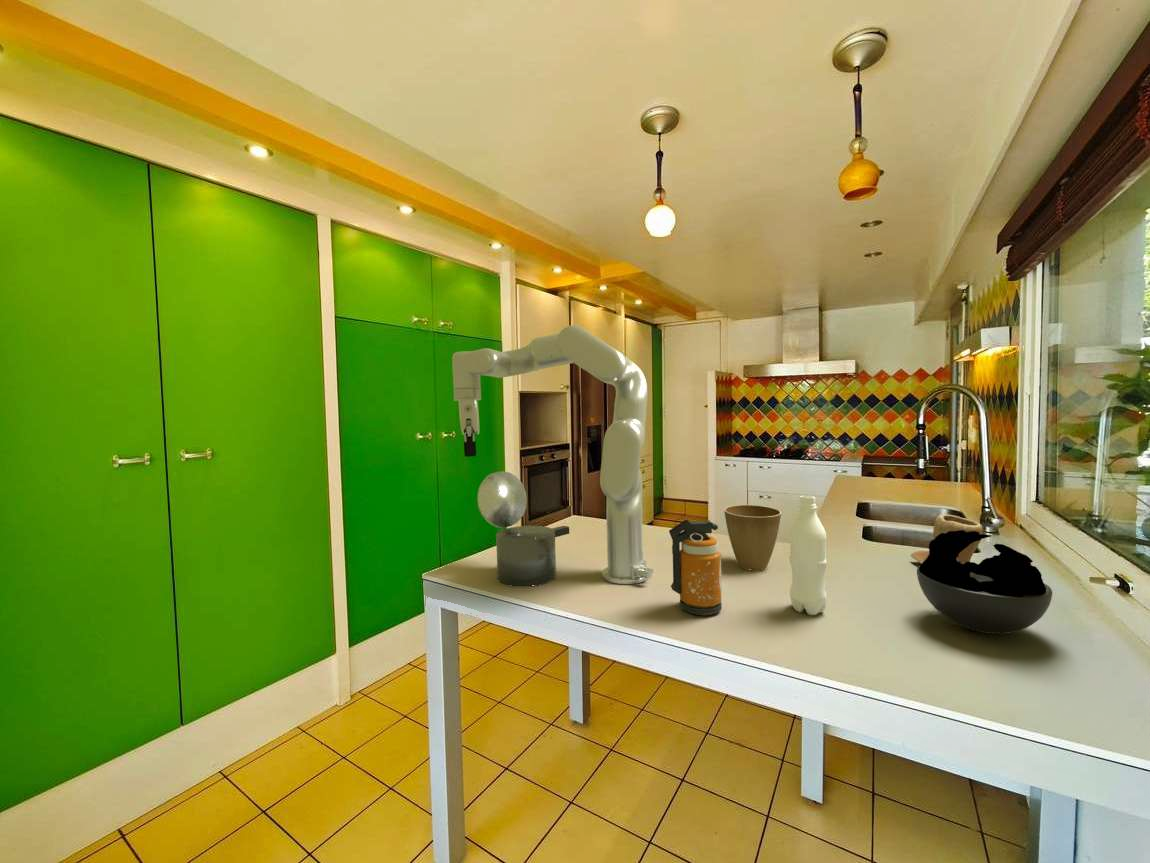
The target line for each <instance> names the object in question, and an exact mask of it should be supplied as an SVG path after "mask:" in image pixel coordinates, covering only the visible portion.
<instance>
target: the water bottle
mask: <svg viewBox="0 0 1150 863" xmlns="http://www.w3.org/2000/svg"><path fill="white" fill-rule="evenodd" d="M798 508H799V511H798V514H797V515H796V518H795V519H794V521H793V523H792V524H791V527H790V529H789V538H790V539H789V540H790V541H789V542H790V543H789V544H790V545H789V551H790V553H789V554H790V555H789V563H790V567H791V575H792V576H791V577H792V578H791V585H790V589H789V598H790V603H791V604H792V607H793V608H794V610H795V611H797V612H798V613H802V612H803V611H804V609H805V612H806V613H807V615H810V616H816V615H818V614H819V613H820V614H821V613H823V612H824V611H825V609H826V607H827V600H828V597H827V592H826V587H825V573H826V568H827V564H828V562H827V556H826V554H827V553H826V551H827V549H826V548H827V547H826V546H827V544H826V542H827V533H826V530H825V528H824V526H823V524H822V522H821V520H820V518H819V517H818V515H817V510H816V509H817V504H816V497H815V496H813V495H800V496H799V504H798Z"/></svg>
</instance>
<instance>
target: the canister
mask: <svg viewBox="0 0 1150 863" xmlns="http://www.w3.org/2000/svg"><path fill="white" fill-rule="evenodd" d="M718 529H719V526H718V525H717V524H716V523H713V522H712V521H710V520H706V519H705V520H702V521H701V520H699V521H698V520H697V521H695V520H694V521H691V520H690V521H689V520H688V519H685V520H682V521H681V522H680V523H679V524H677V525H675V526H673V527H672V528H671V529H669V530H668V533H669V535H670V537H671V540H672V545H671V554H672V580H673V581H672V583H671V585H670V587H671V590H672V591H674V592H675V593H677V594H679V607H680V608H681V609H683V610H685V611H686V612H688V613H691V614H694V615H698V614H699V615H700V616H707V615H712V614H713V615H714V614H717V613H719V612H720V611H721V610H722V606H723V605H722V553H721V552H720V551H719V542H718V541H717V538H715V537H714V536H712V535H708V534H712V533H713V531H717V530H718ZM680 543H681V544H680ZM680 545H681V547H680ZM680 548H681V549H680Z"/></svg>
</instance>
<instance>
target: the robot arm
mask: <svg viewBox="0 0 1150 863" xmlns="http://www.w3.org/2000/svg"><path fill="white" fill-rule="evenodd" d="M451 362H452V363H451V364H452V378H453V379H452V380H453V401H454V402H458V412H459V413H458V414H459V423H460V430H461V434H462V435H463V436H464V442H463V451H464V453H463V454H464V457H465V458H466V457H467V458H468V457H469V458H470V457H477V444H476V438H475V433H476V435H479V434H480V416H479V414H480V413H479V402H478V401H481V400H482V394H481V393H482V389H481V388H482V387H481V376H487V377H493V378H508V377H512V376H518V375H523V374H527V373H531V372H535V371H539V370H542V369H543V370H544V369H549V368H553V367H558V366H564V365H570V364H575V365H576V366H578V367H580V368H581V369H582V370H584V371H586V372H588V374H590V375H592V376H593V377H594V378H596V379H597V380H599V381H601V382H603V383H605V384H608V385H612V386H613V387H614V389H615V399H614V409H613V419H612V424H611V425H609V427H608V428H607V429H606V431H605V433H604V434H605V435H604V438H603V444H602V445H603V446H602V453H601V454H602V455H601V464H600V476H599V484H600V488H601V492H602V493H603V494H604V495H605V496H606V503H605V504H606V548H607V549H606V553H607V555H606V556H607V566H606V567H605V568H604V569H603V570H602V571H601V577H602V578H603V579H604V580H605V581H607V582H609V583H613V584H617V585H634V584H639V583H643V582H645V581H647V580H651V579H652V576H653V574H654V571H655V570H654V568H651V567H647V561H646V560H644V551H643V550H644V548H643V546H644V544H643V543H644V541H643V476H642V470H641V469H640V468H641V458H642V450H643V446H644V444H645V439H646V436H645V434H646V431H645V430H646V422H647V421H646V419H647V405H648V381H647V379H646V377H645V375H644V371H642V370H641V368H640V367H639V366H638V365H637V364H636V363H635V362H633V361H632V360H631V359H630V358H628V357H627V356H626V355H624V354H623V353H622V352H621V351H619V350H617V349H616V348H614V347H613V346H611V345H609V344H608V343H606V342H605V341H603V340H602V339H600V338H598V337H597V336H595V335H594V334H592V333H591V332H589V331H588V329H585V328H584V327H583V326H581V325H576V324H572V325H568V326H565V327H563V328H562V329H561V330H560V331H559V333H556V334H555V333H554V334H550V335H545V336H540V337H535V338H532V340H531V341H530V342H529V343H528V345H526V346H524V347H520V348H516V349H511V350H507V351H499V350H496V349H492V348H489V347H487V348H480V349H476V350H472V351H470V350H469V351H468V350H466V351H464V350H462V351H457V352H455V353H453V355H452V361H451Z"/></svg>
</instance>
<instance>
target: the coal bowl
mask: <svg viewBox="0 0 1150 863" xmlns="http://www.w3.org/2000/svg"><path fill="white" fill-rule="evenodd" d="M991 537H992V535H991V534H986V533H983V534H979V532H977V531H970V532H966V531H964V530H959V531H948V532H947V533H946V534H945V533H941V534H939V535H938V536H936V537H935V539H934V538H933V539H931V541H929V543H928V551H929V555H928V557H927V558H926V559H925V560H924V561H923V563H922V564H921V563H920V565H919V566H918V567H917V568H916V576H917V581H918V584H919V586H920V589H921V591H922V593H923V595H924V596H925V597H926V599H927V601H928V602H929V604H931V605H932V607H933V608H935V610H936V611H938V612H939V613H940V615H942V616H944V617H945V618H947V619H948V620H950V621H952V622H953V623H955V624H957V625H959V626H961V627H963V628H966V629H969V630H972V631H976V632H980V633H984V634H985V633H987V634H1009V633H1015V632H1018V631H1022V630H1024V629H1026V628H1028V627H1030V626H1032V625H1034V624H1035V623H1036V622H1038V621H1039V620H1040V619H1042V617H1044V615H1045V613H1046V612H1047V611H1048V609H1049V607H1050V606H1051V605H1050V604H1051V602H1052V598H1053V590H1052V588H1051V587H1050V586H1049V585H1048V584H1046V583H1044V580H1043V577H1042V573H1041V572H1040V570H1039V569H1038V567H1036V566H1035V565H1033V564H1032V563H1033V562H1034V560H1032V558H1030V557H1029V556H1028V555H1027V554H1024V553H1022V552H1019V551H1018V550H1016V549H1014V548H1012V547H1010V546H1008V545H1005V544H1002V543H997V542H996V544H993V547H994V549H995V550H996V551H997V552H998V553H999V554H998V555H993V556H991V557H986V558H984V559H982V560H981V562H979V563H976V562H973V561H970V562H965V563H961V562H958V561H957V560H956V558H957V557H958V556H959V553H960V552H961V551H963V550H964V549H965V548H967V547H968V546H969V544H972V543H973V542H976V541H980V540H983V539H986V538H991ZM980 542H981V541H980Z"/></svg>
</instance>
